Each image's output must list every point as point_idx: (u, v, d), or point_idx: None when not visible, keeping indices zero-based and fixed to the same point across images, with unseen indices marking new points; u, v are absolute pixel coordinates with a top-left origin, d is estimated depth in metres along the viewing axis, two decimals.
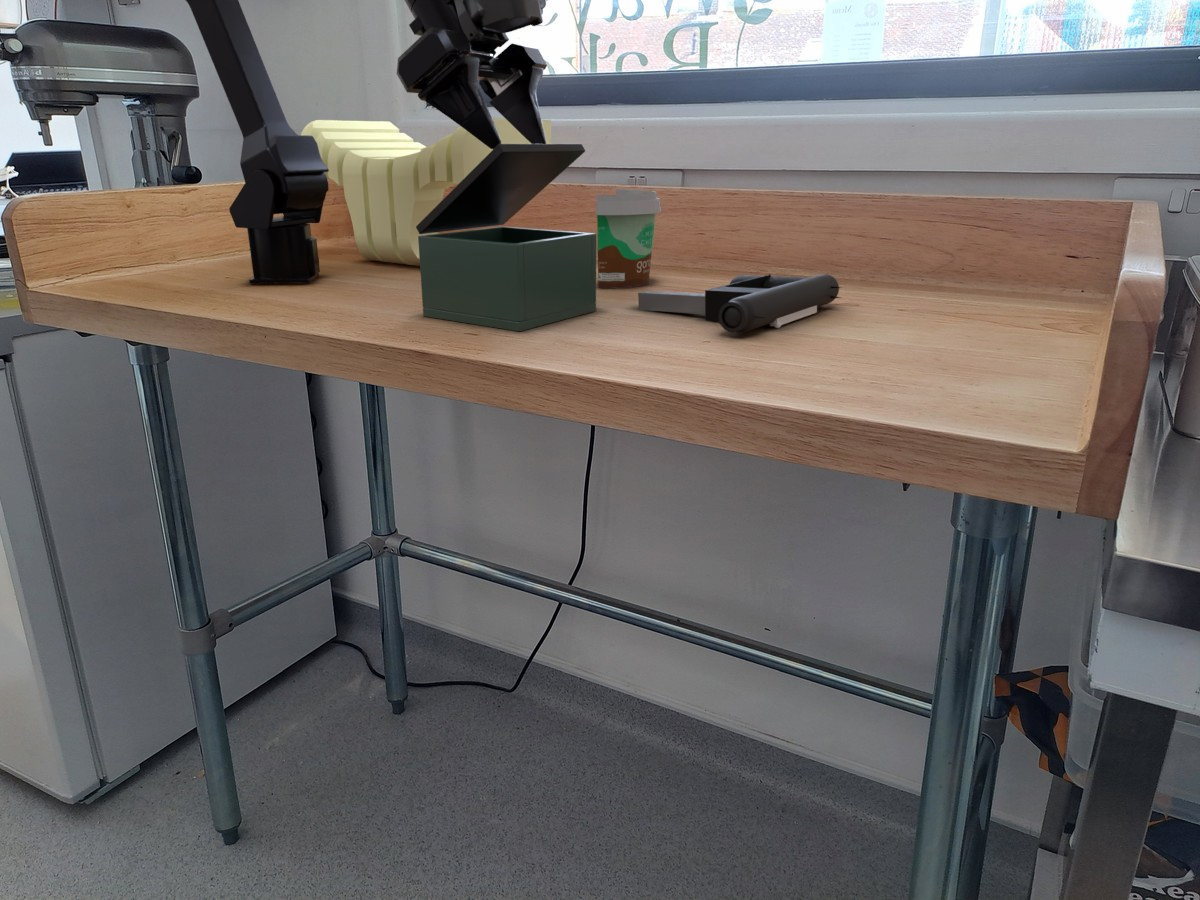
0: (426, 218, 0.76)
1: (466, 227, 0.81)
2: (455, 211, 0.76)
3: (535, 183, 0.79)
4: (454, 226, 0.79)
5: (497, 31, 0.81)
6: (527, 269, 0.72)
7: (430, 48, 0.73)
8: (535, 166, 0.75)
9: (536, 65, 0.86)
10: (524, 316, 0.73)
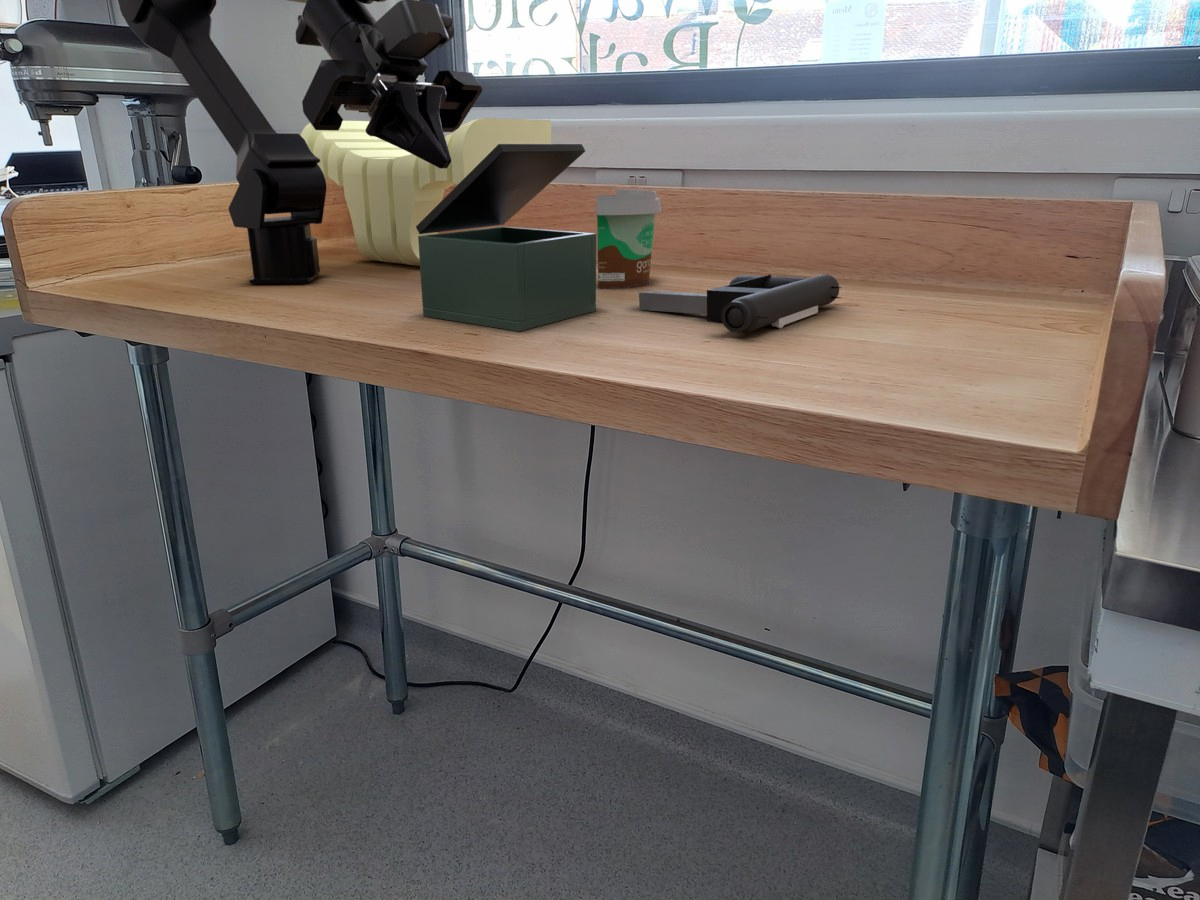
0: (426, 218, 0.76)
1: (466, 227, 0.81)
2: (455, 211, 0.76)
3: (535, 183, 0.79)
4: (454, 226, 0.79)
5: (410, 58, 0.80)
6: (527, 269, 0.72)
7: (322, 80, 0.73)
8: (535, 166, 0.75)
9: (467, 87, 0.85)
10: (524, 316, 0.73)
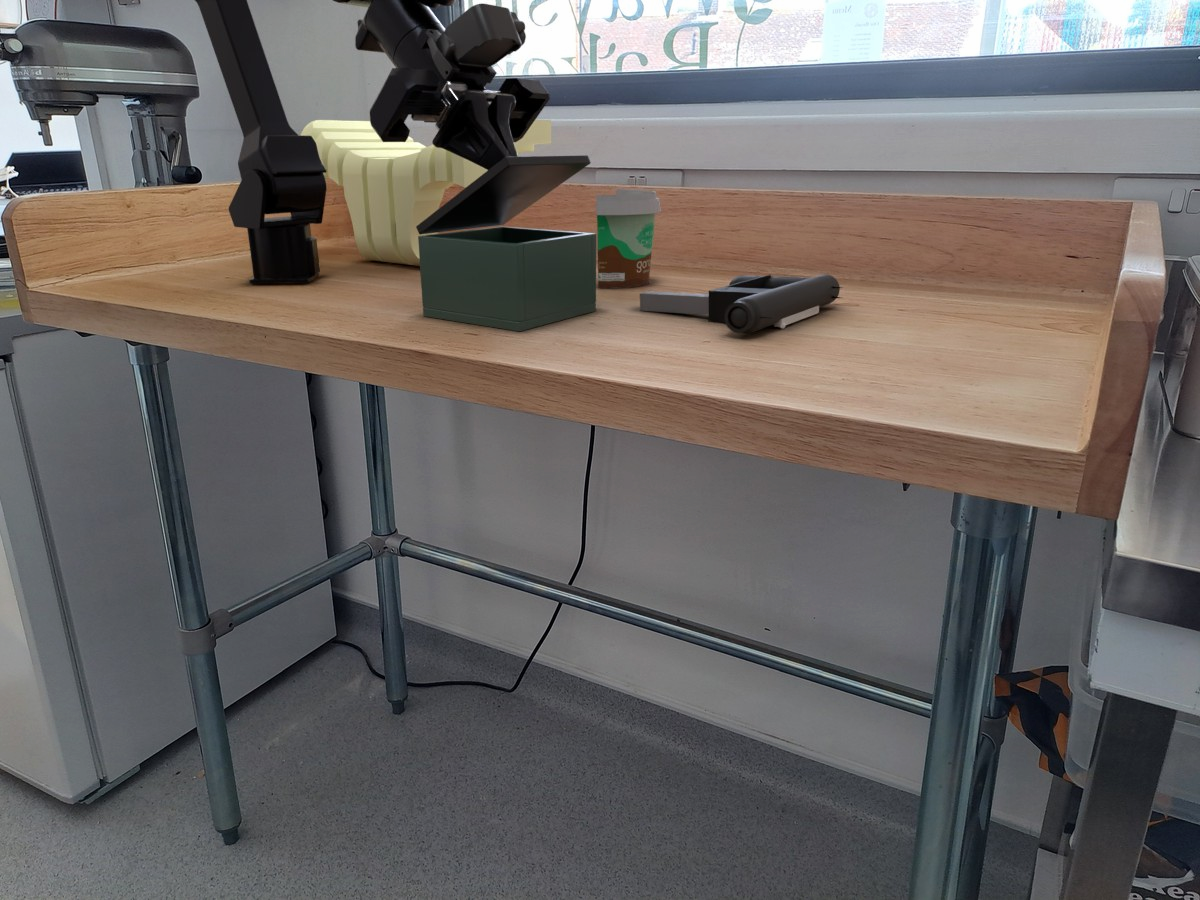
0: (427, 219, 0.76)
1: (466, 228, 0.81)
2: (456, 215, 0.76)
3: (538, 190, 0.79)
4: (454, 227, 0.79)
5: (479, 65, 0.76)
6: (527, 269, 0.72)
7: (393, 90, 0.69)
8: (540, 176, 0.75)
9: (535, 95, 0.81)
10: (524, 316, 0.73)
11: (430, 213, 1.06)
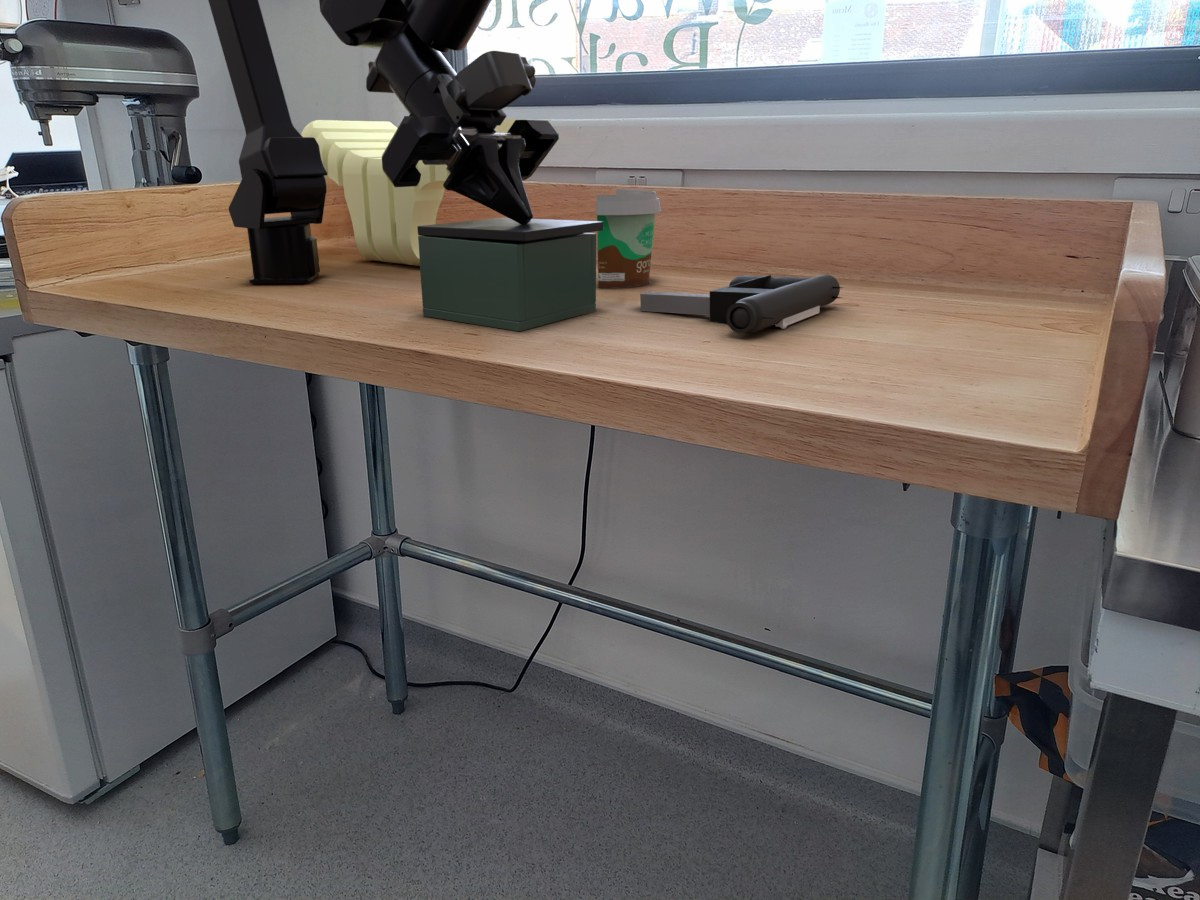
0: (430, 228, 0.76)
1: None
2: None
3: None
4: None
5: (490, 109, 0.77)
6: (527, 269, 0.72)
7: (405, 137, 0.70)
8: None
9: (544, 136, 0.81)
10: (524, 316, 0.73)
11: (430, 213, 1.06)
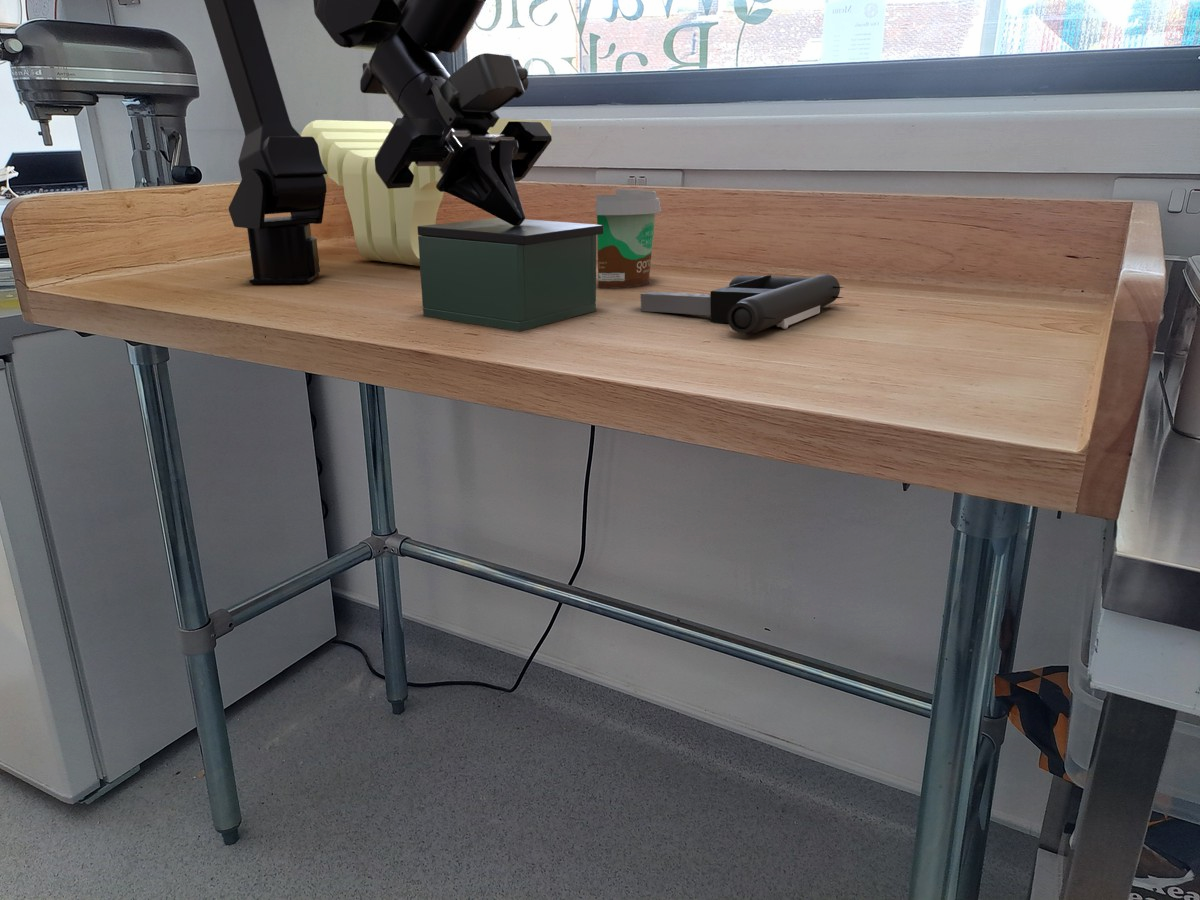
0: (430, 229, 0.76)
1: None
2: None
3: None
4: None
5: (483, 111, 0.77)
6: (527, 269, 0.72)
7: (398, 139, 0.70)
8: None
9: (537, 138, 0.82)
10: (524, 316, 0.73)
11: (430, 213, 1.06)
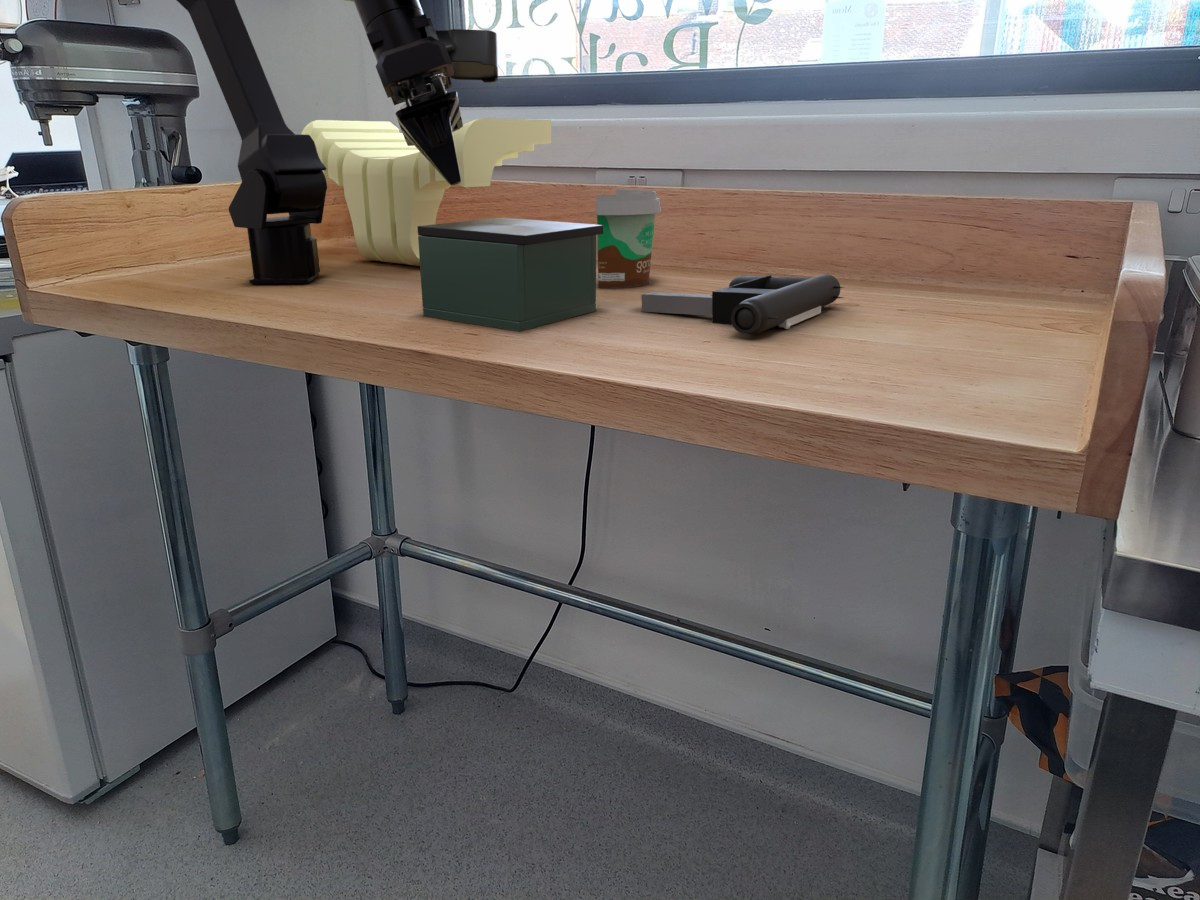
0: (430, 229, 0.76)
1: None
2: None
3: None
4: None
5: None
6: (527, 269, 0.72)
7: (427, 54, 0.72)
8: None
9: (459, 121, 0.88)
10: (524, 316, 0.73)
11: (430, 213, 1.06)
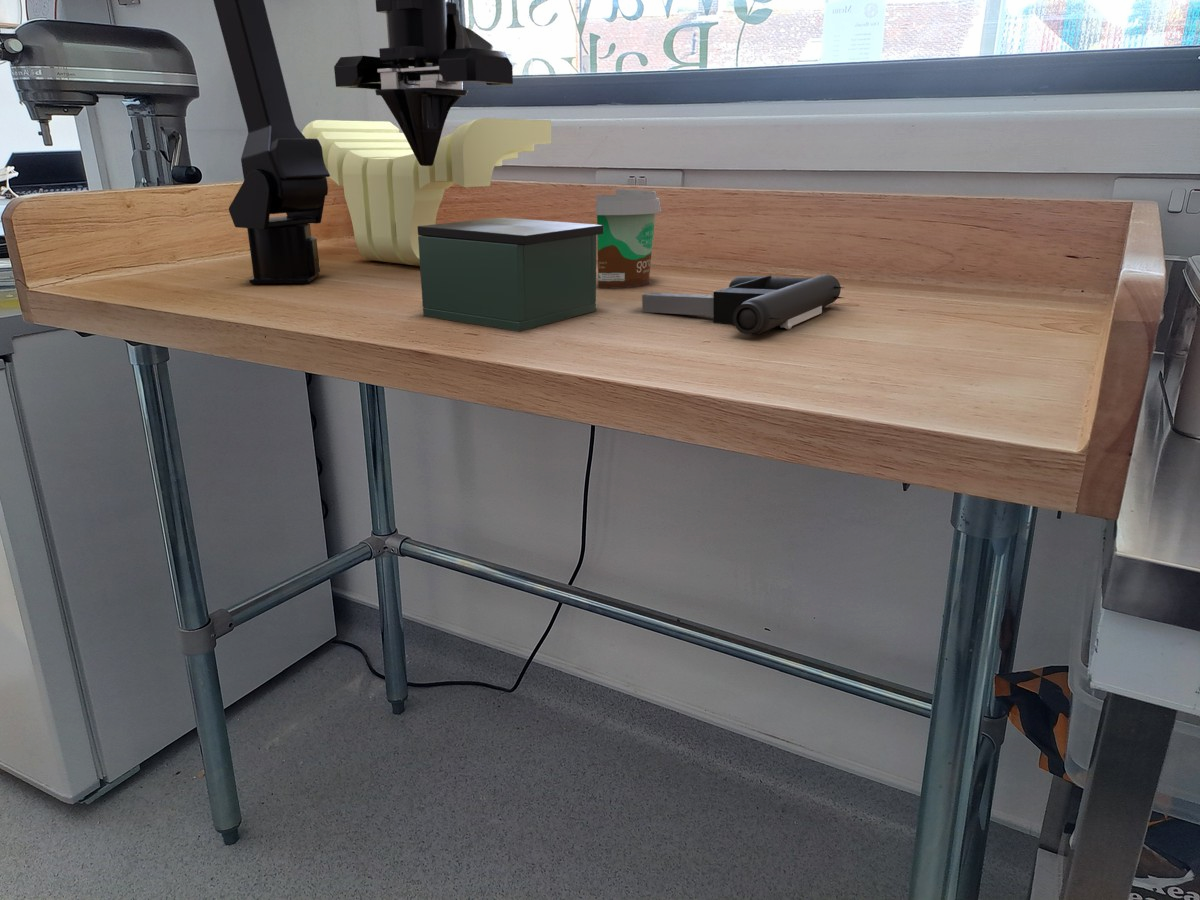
0: (430, 229, 0.76)
1: None
2: None
3: None
4: None
5: None
6: (527, 269, 0.72)
7: (504, 69, 0.78)
8: None
9: None
10: (524, 316, 0.73)
11: (430, 213, 1.06)
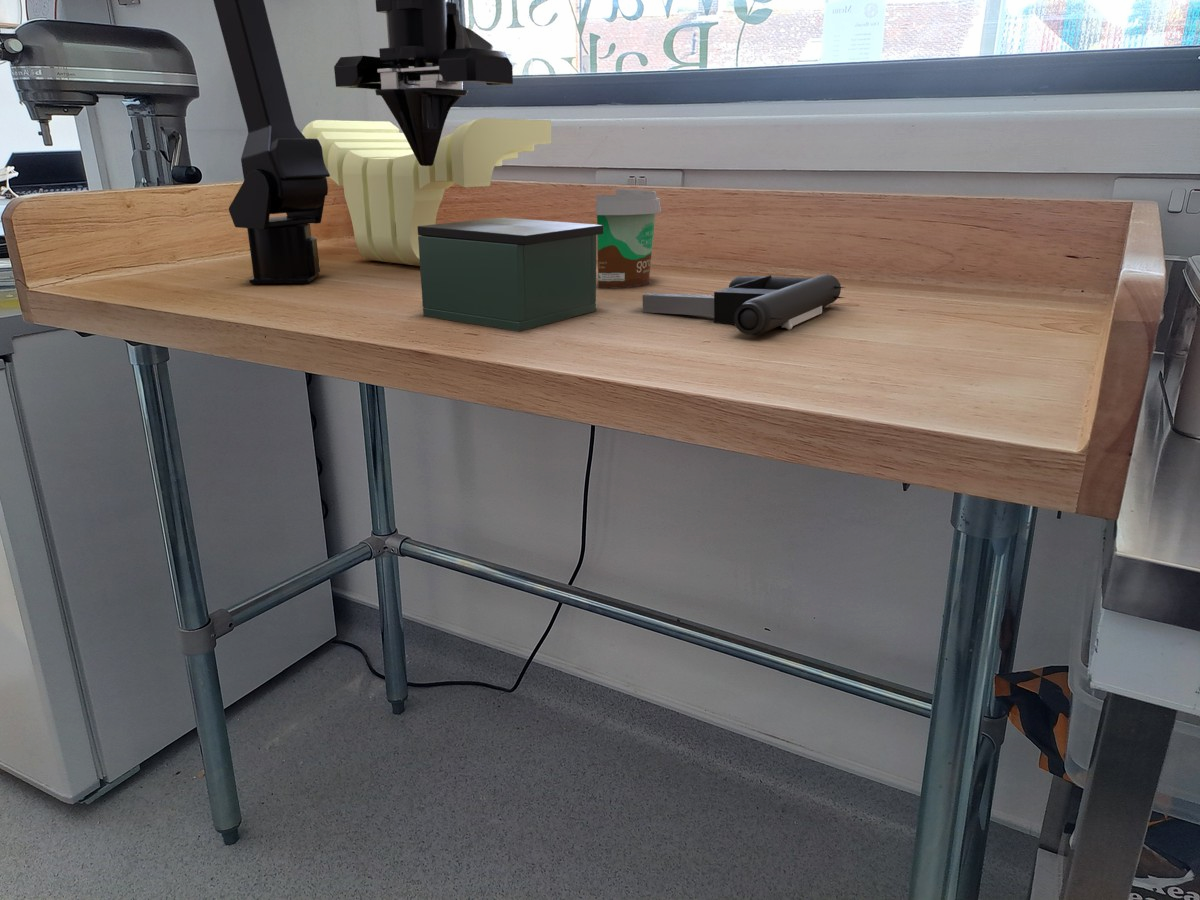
0: (430, 229, 0.76)
1: None
2: None
3: None
4: None
5: None
6: (527, 269, 0.72)
7: (504, 69, 0.78)
8: None
9: None
10: (524, 316, 0.73)
11: (430, 213, 1.06)
